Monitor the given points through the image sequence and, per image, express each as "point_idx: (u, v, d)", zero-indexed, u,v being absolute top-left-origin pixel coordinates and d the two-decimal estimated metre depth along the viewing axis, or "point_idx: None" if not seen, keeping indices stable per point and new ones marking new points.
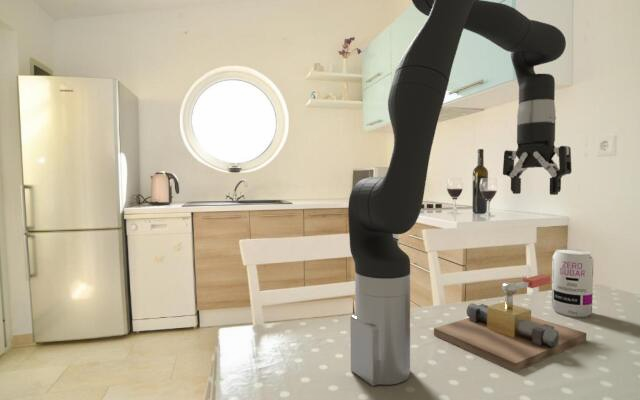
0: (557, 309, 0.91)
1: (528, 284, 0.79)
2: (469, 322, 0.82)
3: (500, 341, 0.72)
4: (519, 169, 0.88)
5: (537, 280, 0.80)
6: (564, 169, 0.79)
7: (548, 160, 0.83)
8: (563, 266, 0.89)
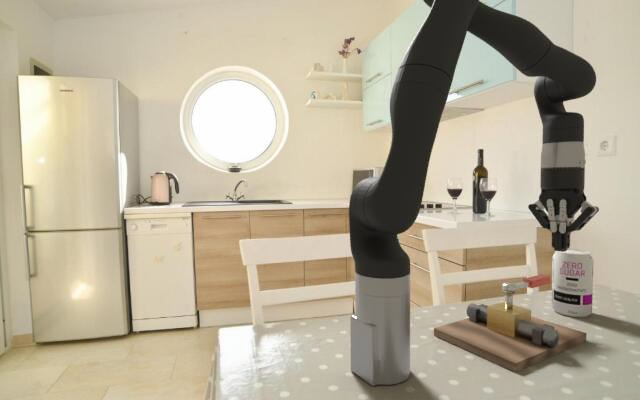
0: (557, 309, 0.91)
1: (528, 284, 0.79)
2: (469, 322, 0.82)
3: (500, 341, 0.72)
4: (556, 219, 0.76)
5: (537, 280, 0.80)
6: (574, 228, 0.73)
7: None
8: (563, 266, 0.89)
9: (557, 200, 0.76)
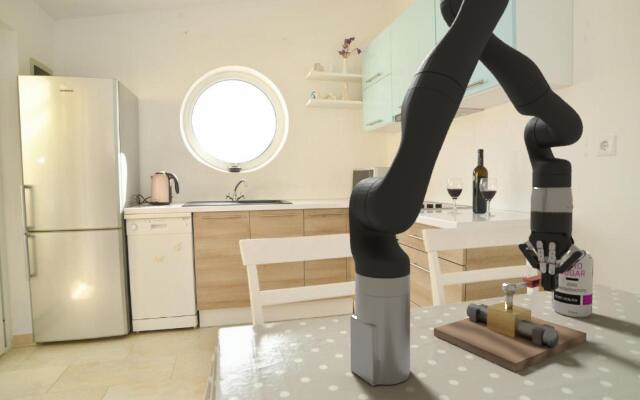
0: (557, 309, 0.91)
1: (528, 284, 0.79)
2: (469, 322, 0.82)
3: (500, 341, 0.72)
4: (545, 260, 0.79)
5: (537, 280, 0.80)
6: (563, 270, 0.76)
7: None
8: None
9: (546, 242, 0.79)
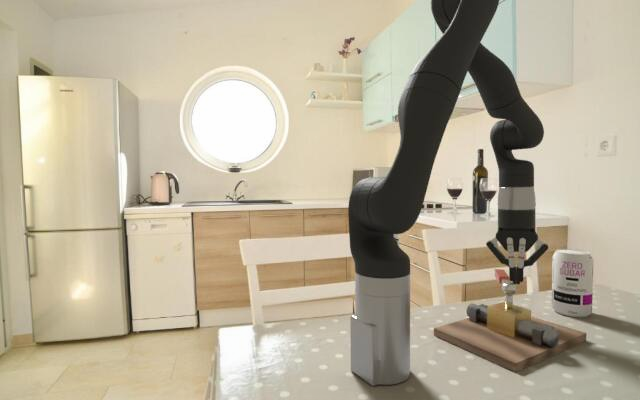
0: (557, 309, 0.91)
1: None
2: (469, 322, 0.82)
3: (500, 341, 0.72)
4: (514, 255, 0.84)
5: (507, 275, 0.85)
6: (532, 263, 0.82)
7: None
8: (563, 266, 0.89)
9: (515, 238, 0.84)
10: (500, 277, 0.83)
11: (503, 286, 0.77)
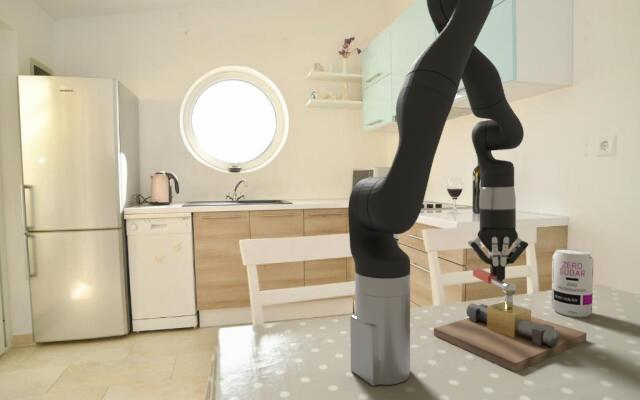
0: (557, 309, 0.91)
1: None
2: (469, 322, 0.82)
3: (500, 341, 0.72)
4: None
5: None
6: (513, 261, 0.85)
7: None
8: (563, 266, 0.89)
9: (498, 237, 0.85)
10: (489, 277, 0.83)
11: (505, 287, 0.76)
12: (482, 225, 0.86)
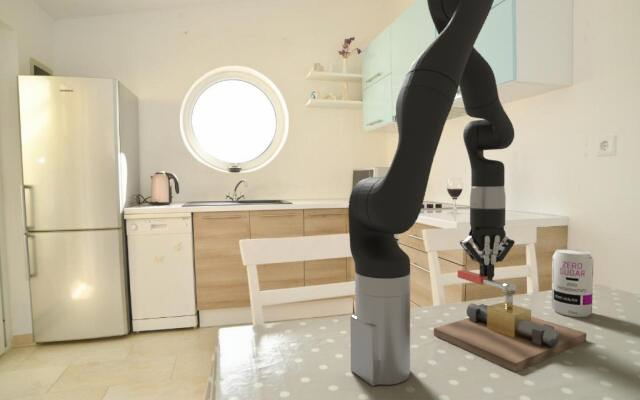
0: (557, 309, 0.91)
1: None
2: (469, 322, 0.82)
3: (500, 341, 0.72)
4: None
5: None
6: (502, 258, 0.87)
7: None
8: (563, 266, 0.89)
9: (489, 236, 0.86)
10: (481, 278, 0.83)
11: (507, 287, 0.76)
12: (475, 224, 0.86)
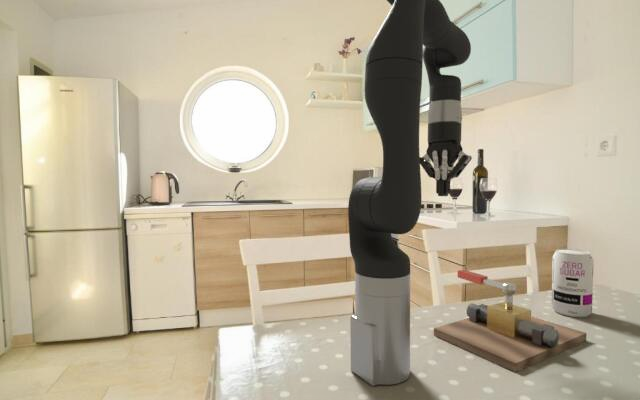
0: (557, 309, 0.91)
1: None
2: (469, 322, 0.82)
3: (500, 341, 0.72)
4: (439, 168, 0.88)
5: None
6: (453, 174, 0.85)
7: None
8: (563, 266, 0.89)
9: (440, 151, 0.88)
10: (481, 278, 0.83)
11: (507, 287, 0.76)
12: None
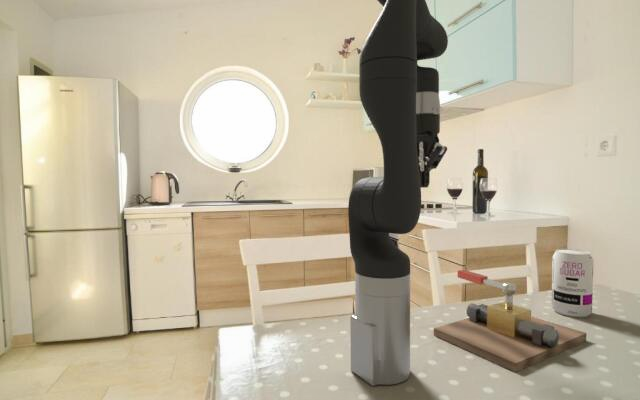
0: (557, 309, 0.91)
1: None
2: (469, 322, 0.82)
3: (500, 341, 0.72)
4: (418, 160, 0.89)
5: None
6: (429, 165, 0.86)
7: None
8: (563, 266, 0.89)
9: (419, 143, 0.89)
10: (481, 278, 0.83)
11: (507, 287, 0.76)
12: None
